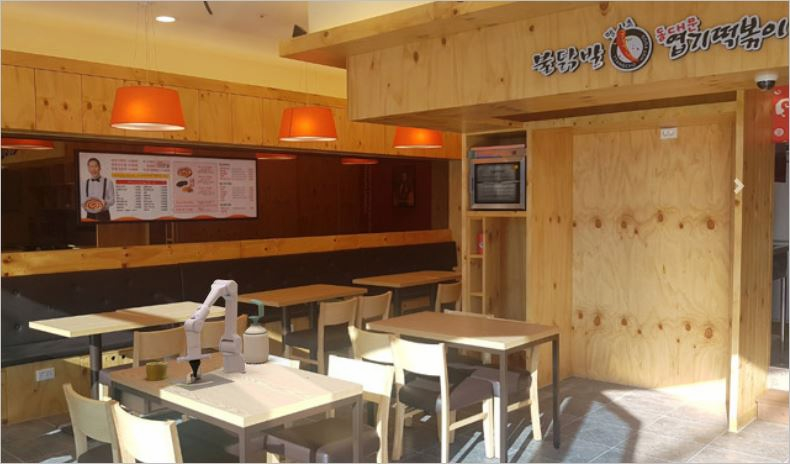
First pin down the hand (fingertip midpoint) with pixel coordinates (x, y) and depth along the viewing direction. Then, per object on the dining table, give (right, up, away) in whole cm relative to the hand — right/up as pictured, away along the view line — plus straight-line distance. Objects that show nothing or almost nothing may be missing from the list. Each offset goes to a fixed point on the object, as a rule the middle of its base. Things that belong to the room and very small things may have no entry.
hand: (195, 376), depth 307 cm
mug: (-20, -4, +11) cm, 23 cm away
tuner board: (+2, -3, +1) cm, 4 cm away
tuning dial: (-2, -2, +2) cm, 4 cm away
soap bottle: (+18, -2, +44) cm, 47 cm away
